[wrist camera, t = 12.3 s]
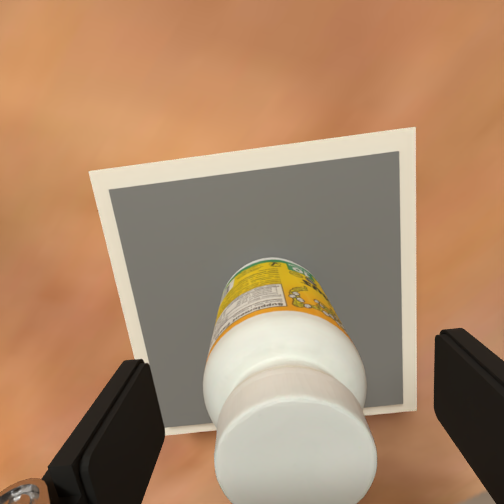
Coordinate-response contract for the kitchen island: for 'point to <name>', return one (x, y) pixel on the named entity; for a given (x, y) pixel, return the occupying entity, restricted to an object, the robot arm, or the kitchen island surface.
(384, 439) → the kitchen island surface
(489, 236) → the kitchen island surface
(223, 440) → the supplement bottle
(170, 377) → the plate
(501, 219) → the kitchen island surface
